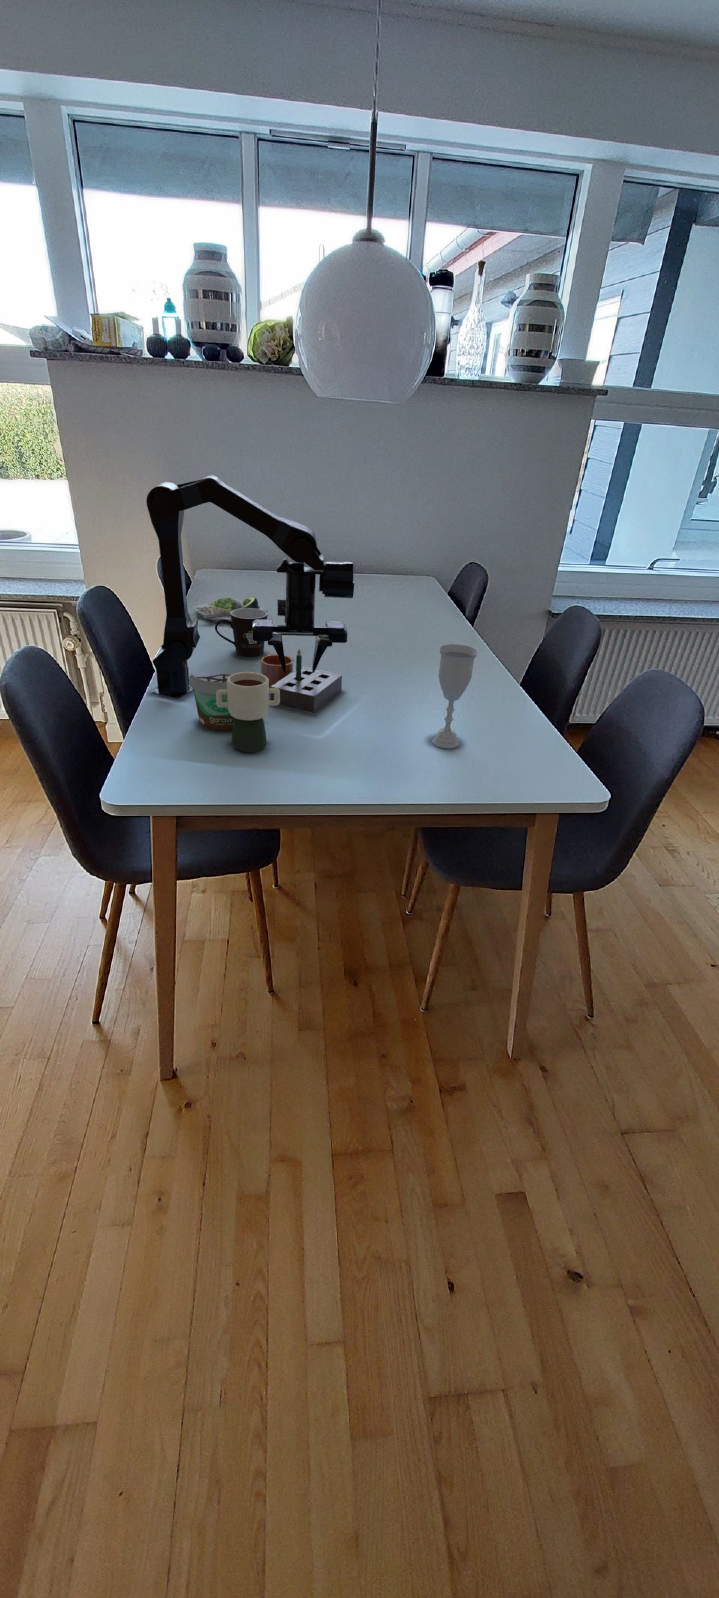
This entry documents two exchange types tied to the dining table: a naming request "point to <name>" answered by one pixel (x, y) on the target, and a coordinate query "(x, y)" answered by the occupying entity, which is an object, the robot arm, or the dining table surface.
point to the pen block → (308, 689)
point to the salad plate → (224, 608)
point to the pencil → (298, 665)
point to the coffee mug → (245, 631)
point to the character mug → (248, 708)
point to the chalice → (453, 685)
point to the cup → (275, 668)
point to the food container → (211, 702)
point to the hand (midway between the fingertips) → (298, 671)
